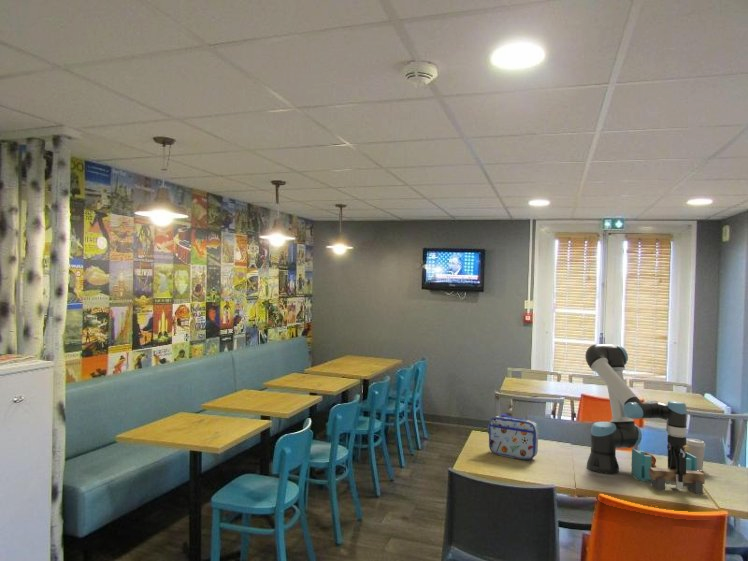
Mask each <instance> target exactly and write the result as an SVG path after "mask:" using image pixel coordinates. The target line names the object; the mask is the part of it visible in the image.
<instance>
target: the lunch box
mask: <svg viewBox="0 0 748 561" xmlns="http://www.w3.org/2000/svg"><path fill="white" fill-rule="evenodd" d="M488 422H489V423H488V426H487V427H486V431H487V434H488V447H489V450H490V452H491V453H492V454H495V455H497V456H502V457H507V458H511V459H518V460H519V459H520V460H526V461H527V460H528V461H529V460H532V459H534V458H535V457H536V456H537V454H538V450H539V449H538V448H539V426H538V424H537V423H536V422H535V421H534V420H533V421H532V420H529V419H523V418H520V417H514V416H510V415H509V414H506V413H502V414H501V415H496V416H494V417H491V418H490V420H489V421H488Z"/></svg>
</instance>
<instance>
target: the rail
mask: <svg viewBox="0 0 748 561" xmlns="http://www.w3.org/2000/svg"><path fill="white" fill-rule="evenodd" d="M675 473H677V470H676V469H668V468H659V467H653V468H650V471H649V477H650V478H651V479H653V480H657V478H664V479H665V481H671V482H676V474H675ZM705 477H706V476H705V473H703V472H702V471H689V470H686V475H683V483H695V481H702V482H703V485H705V484H706V483H705V482H706V480H705Z"/></svg>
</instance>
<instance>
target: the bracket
mask: <svg viewBox="0 0 748 561" xmlns="http://www.w3.org/2000/svg"><path fill="white" fill-rule="evenodd" d="M685 453H687V452H685ZM651 467H652V456H650V455H645V451H644V450H637V449H635V447H631V476H633V477H634V478H635V479H636V480H638V482H649V483H652V479H651V478H650V477H649V471H650V468H651ZM686 470H689V471H697V457H695V456H693V455H691V454H689V453H687V457H686ZM665 484H670V481H665ZM683 485H686V486H688V483H683Z"/></svg>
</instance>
